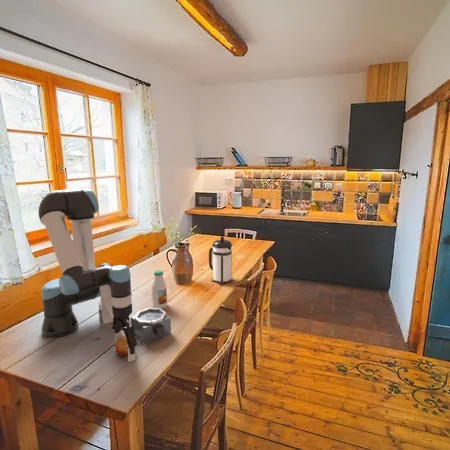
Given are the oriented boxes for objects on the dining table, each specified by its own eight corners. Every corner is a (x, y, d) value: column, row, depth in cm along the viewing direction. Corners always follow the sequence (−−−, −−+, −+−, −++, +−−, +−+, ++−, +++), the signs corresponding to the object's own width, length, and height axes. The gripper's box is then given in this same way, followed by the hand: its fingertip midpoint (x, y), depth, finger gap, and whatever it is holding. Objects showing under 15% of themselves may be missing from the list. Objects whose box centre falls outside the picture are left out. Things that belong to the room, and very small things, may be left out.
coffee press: (234, 276, 213) (234, 233, 206) (232, 286, 197) (233, 239, 191) (209, 275, 214) (208, 233, 208) (205, 284, 199) (205, 239, 192)
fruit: (125, 341, 135) (130, 329, 131) (135, 355, 132) (140, 344, 128) (108, 349, 129) (112, 338, 125) (118, 365, 126) (123, 354, 122)
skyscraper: (99, 317, 157) (95, 266, 149) (116, 314, 160) (113, 264, 152) (99, 326, 150) (94, 273, 142) (117, 323, 152) (113, 271, 145)
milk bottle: (153, 310, 165) (151, 274, 161) (152, 303, 173) (150, 269, 168) (167, 308, 167) (166, 273, 163) (166, 302, 175) (165, 268, 170)
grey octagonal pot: (147, 347, 133) (146, 327, 131) (131, 332, 144) (130, 314, 143) (173, 336, 142) (173, 317, 140) (156, 322, 153) (156, 305, 151)
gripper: (144, 312, 118) (147, 363, 122) (118, 292, 135) (122, 337, 140) (125, 318, 113) (129, 371, 118) (101, 297, 130) (105, 343, 135)
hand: (125, 353), depth 129 cm, fingers open, 11 cm apart
